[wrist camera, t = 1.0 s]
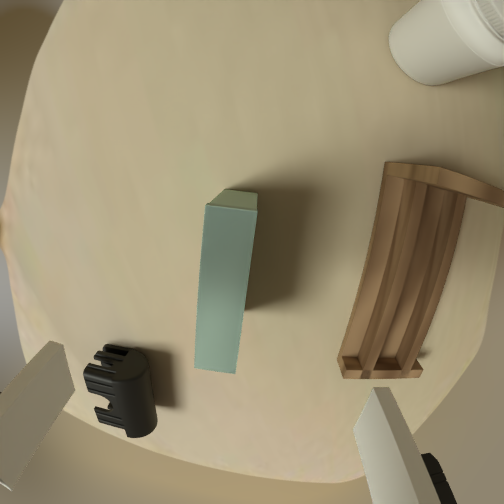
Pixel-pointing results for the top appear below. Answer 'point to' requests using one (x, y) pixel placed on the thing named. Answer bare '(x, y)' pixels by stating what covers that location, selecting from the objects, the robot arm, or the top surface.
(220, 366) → the door panel
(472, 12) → the pill bottle
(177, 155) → the top surface
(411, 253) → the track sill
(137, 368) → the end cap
